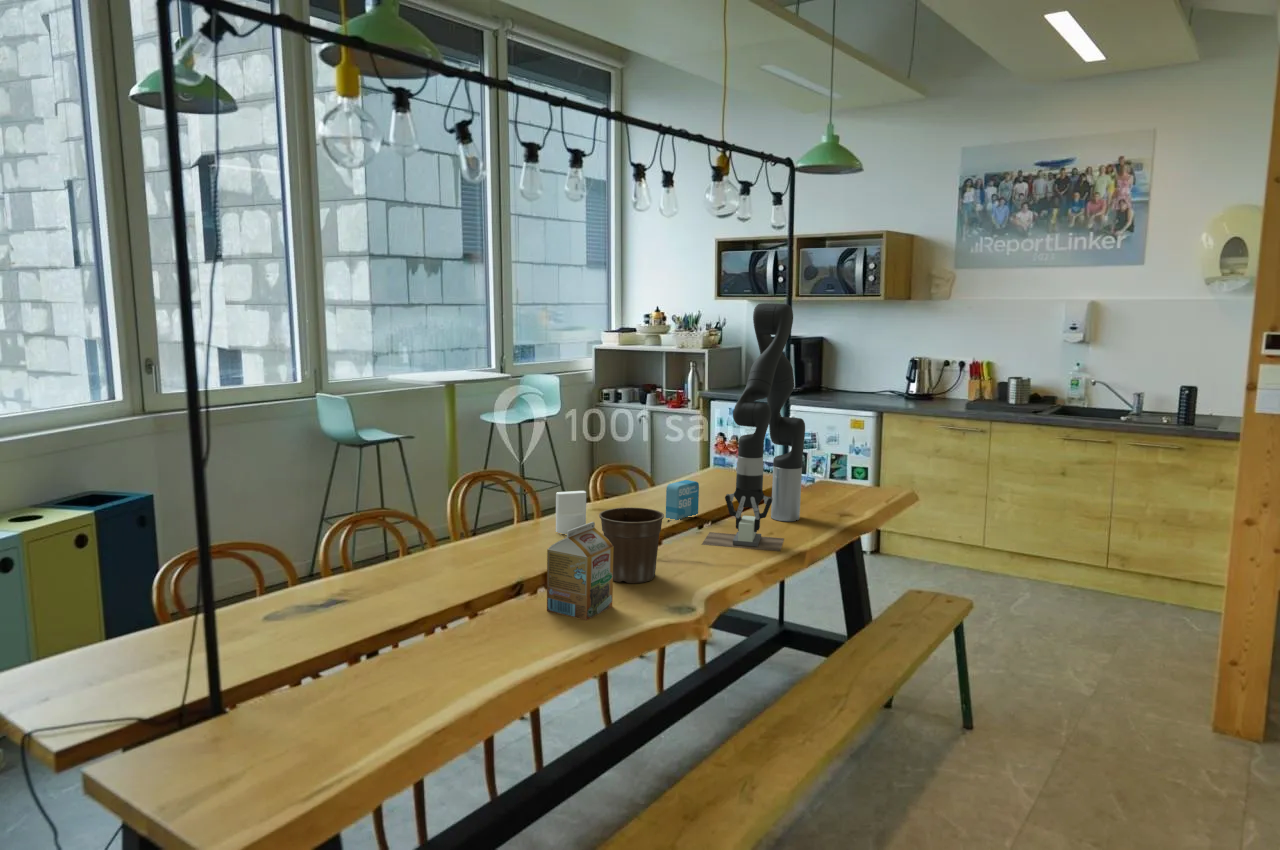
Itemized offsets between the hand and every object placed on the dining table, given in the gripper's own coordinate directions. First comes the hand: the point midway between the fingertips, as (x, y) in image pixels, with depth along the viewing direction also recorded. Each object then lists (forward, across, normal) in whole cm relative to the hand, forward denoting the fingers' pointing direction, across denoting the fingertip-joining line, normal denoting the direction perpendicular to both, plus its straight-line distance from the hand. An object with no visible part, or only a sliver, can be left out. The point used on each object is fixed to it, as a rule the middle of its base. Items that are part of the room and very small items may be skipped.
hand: (747, 530), depth 247 cm
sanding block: (+3, 0, 0) cm, 3 cm away
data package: (+5, +24, -26) cm, 36 cm away
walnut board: (+5, +1, 0) cm, 5 cm away
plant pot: (+5, +25, +37) cm, 45 cm away
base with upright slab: (+5, +53, 0) cm, 53 cm away
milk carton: (+5, +30, +63) cm, 70 cm away
